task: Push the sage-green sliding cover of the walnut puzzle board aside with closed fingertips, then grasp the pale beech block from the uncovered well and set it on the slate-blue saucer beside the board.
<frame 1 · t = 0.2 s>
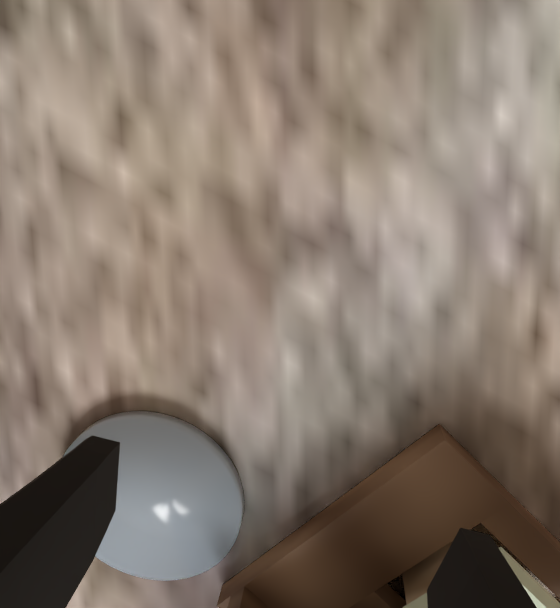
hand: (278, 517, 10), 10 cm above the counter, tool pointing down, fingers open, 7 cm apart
block: (462, 575, 23), resting in board
saucer: (153, 493, 23), on the counter
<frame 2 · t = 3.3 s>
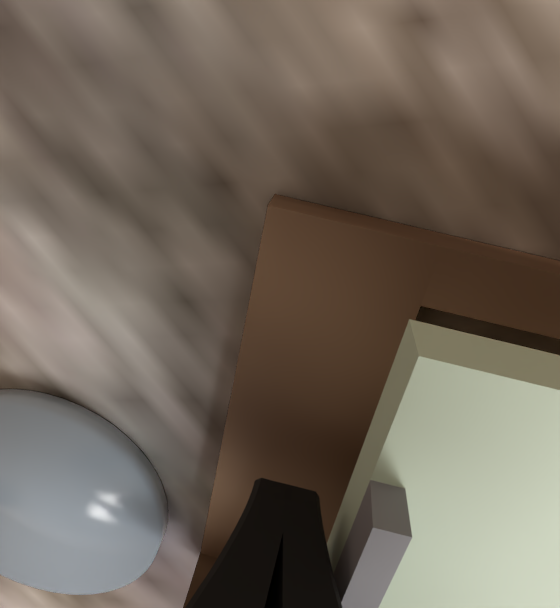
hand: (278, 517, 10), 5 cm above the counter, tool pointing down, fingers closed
board: (523, 473, 14), on the counter
saucer: (48, 491, 17), on the counter
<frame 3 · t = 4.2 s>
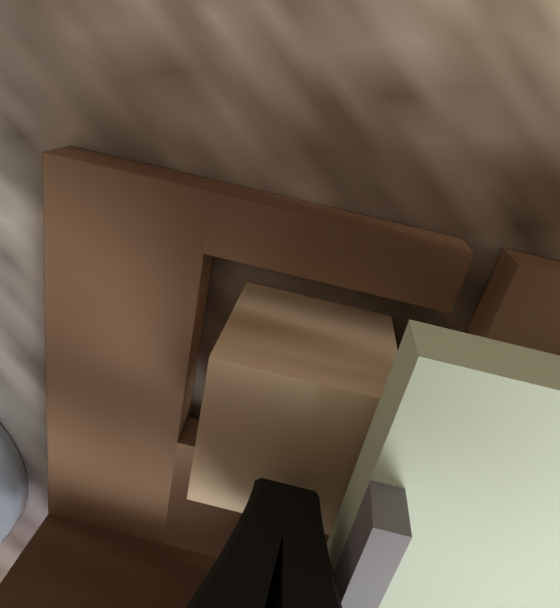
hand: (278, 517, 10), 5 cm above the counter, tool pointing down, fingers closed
board: (352, 431, 14), on the counter
block: (302, 358, 14), resting in board
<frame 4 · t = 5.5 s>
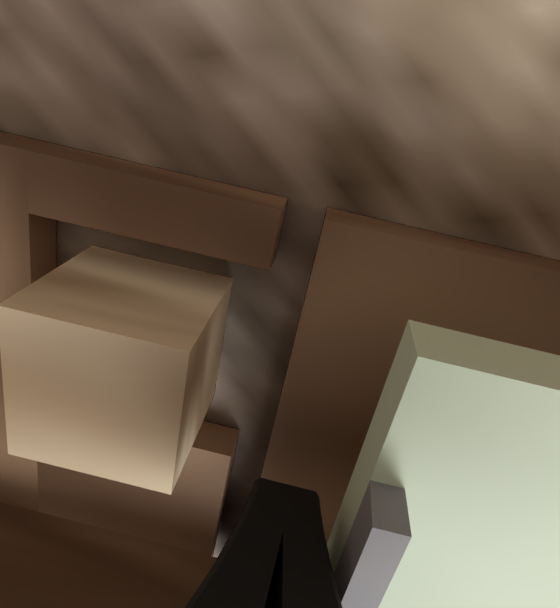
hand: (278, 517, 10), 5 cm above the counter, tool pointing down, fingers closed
board: (213, 397, 15), on the counter
block: (157, 323, 14), resting in board
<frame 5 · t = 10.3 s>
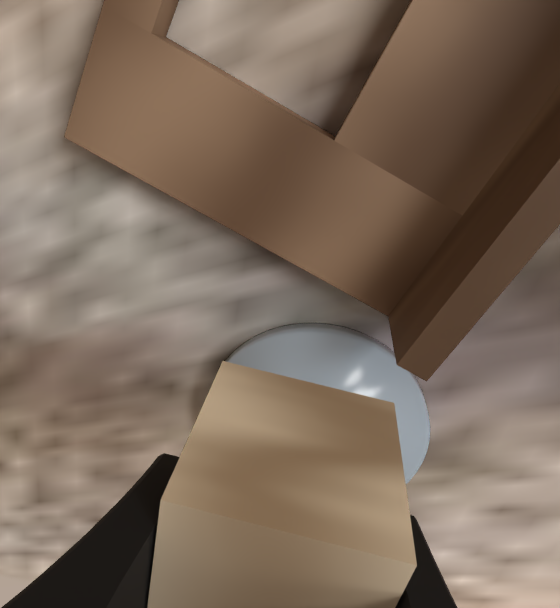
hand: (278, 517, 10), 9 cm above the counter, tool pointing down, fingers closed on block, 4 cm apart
block: (289, 447, 12), point 7 cm above the counter, touching gripper
saucer: (315, 419, 20), on the counter
when the fingers open (4 cm above the counter, at t = 11.9 s): block drops 1 cm, resting on saucer.
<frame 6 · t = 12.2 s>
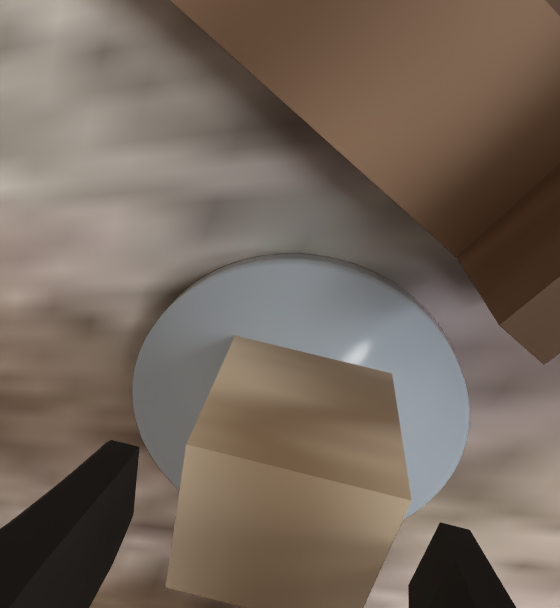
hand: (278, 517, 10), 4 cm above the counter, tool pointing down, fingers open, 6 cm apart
block: (296, 416, 13), point 1 cm above the counter, touching saucer
saucer: (296, 404, 14), on the counter
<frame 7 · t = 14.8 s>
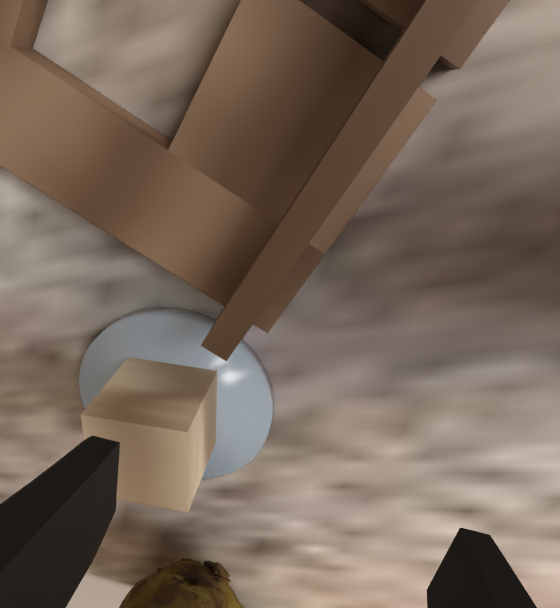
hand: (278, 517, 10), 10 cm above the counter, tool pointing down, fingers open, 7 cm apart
potato: (217, 583, 28), on the counter
block: (173, 401, 21), point 1 cm above the counter, touching saucer
saucer: (179, 394, 22), on the counter
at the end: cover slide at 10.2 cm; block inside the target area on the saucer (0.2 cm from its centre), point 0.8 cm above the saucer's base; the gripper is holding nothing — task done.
